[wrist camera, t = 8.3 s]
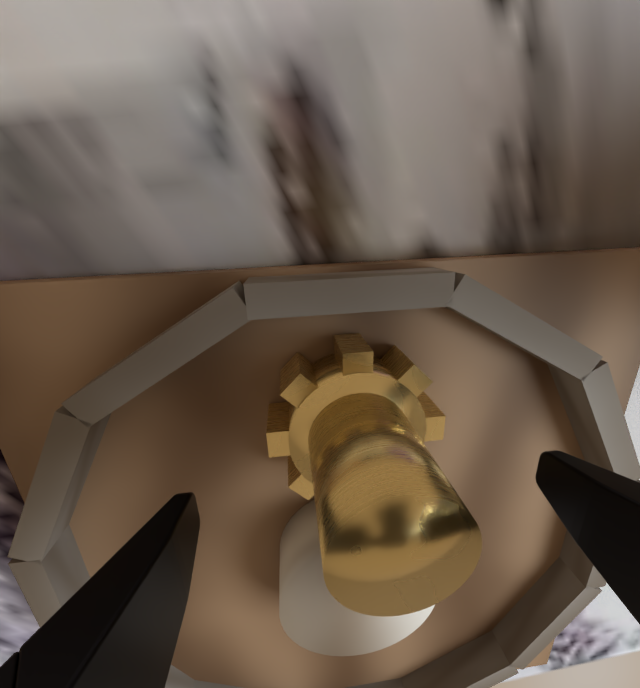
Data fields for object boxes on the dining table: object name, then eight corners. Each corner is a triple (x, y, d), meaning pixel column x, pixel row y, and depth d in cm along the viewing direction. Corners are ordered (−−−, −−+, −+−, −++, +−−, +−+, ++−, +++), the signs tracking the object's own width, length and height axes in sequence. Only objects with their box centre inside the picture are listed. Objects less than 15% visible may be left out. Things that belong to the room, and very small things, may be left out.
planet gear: (426, 327, 11) (570, 422, 6) (416, 460, 13) (517, 632, 7) (262, 339, 11) (238, 455, 5) (276, 475, 13) (270, 673, 7)
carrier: (645, 247, 12) (779, 250, 9) (534, 643, 20) (583, 723, 17) (-38, 283, 10) (-194, 306, 7) (136, 712, 18) (103, 820, 15)
